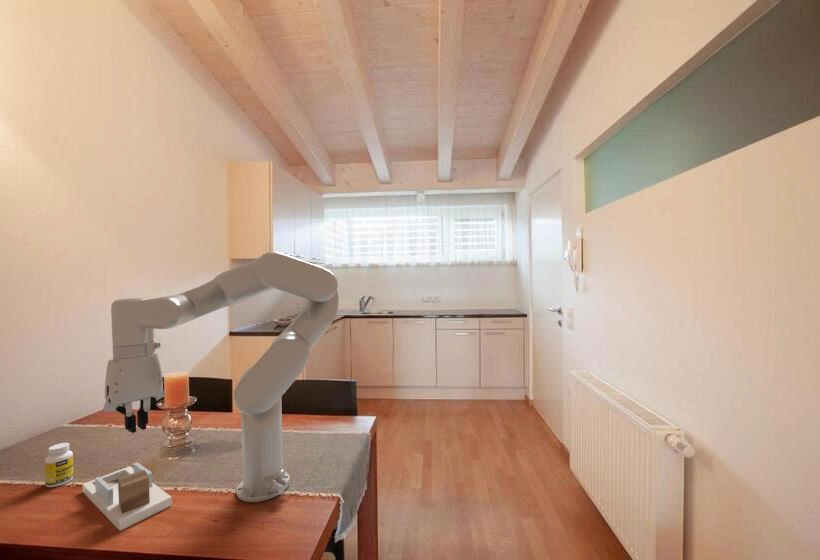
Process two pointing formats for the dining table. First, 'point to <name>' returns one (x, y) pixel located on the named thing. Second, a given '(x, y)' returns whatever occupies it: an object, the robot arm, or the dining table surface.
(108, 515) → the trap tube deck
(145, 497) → the walnut block
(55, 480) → the supplement bottle
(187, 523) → the dining table surface
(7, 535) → the dining table surface
